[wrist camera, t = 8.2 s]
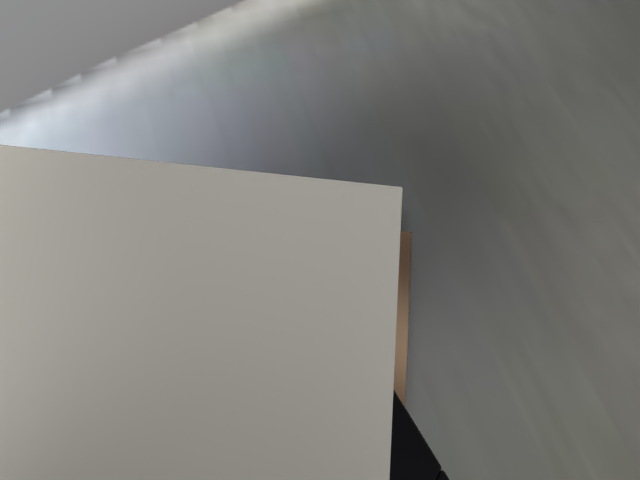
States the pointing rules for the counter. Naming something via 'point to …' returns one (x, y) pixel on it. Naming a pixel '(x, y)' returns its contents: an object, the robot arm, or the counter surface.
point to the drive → (193, 321)
